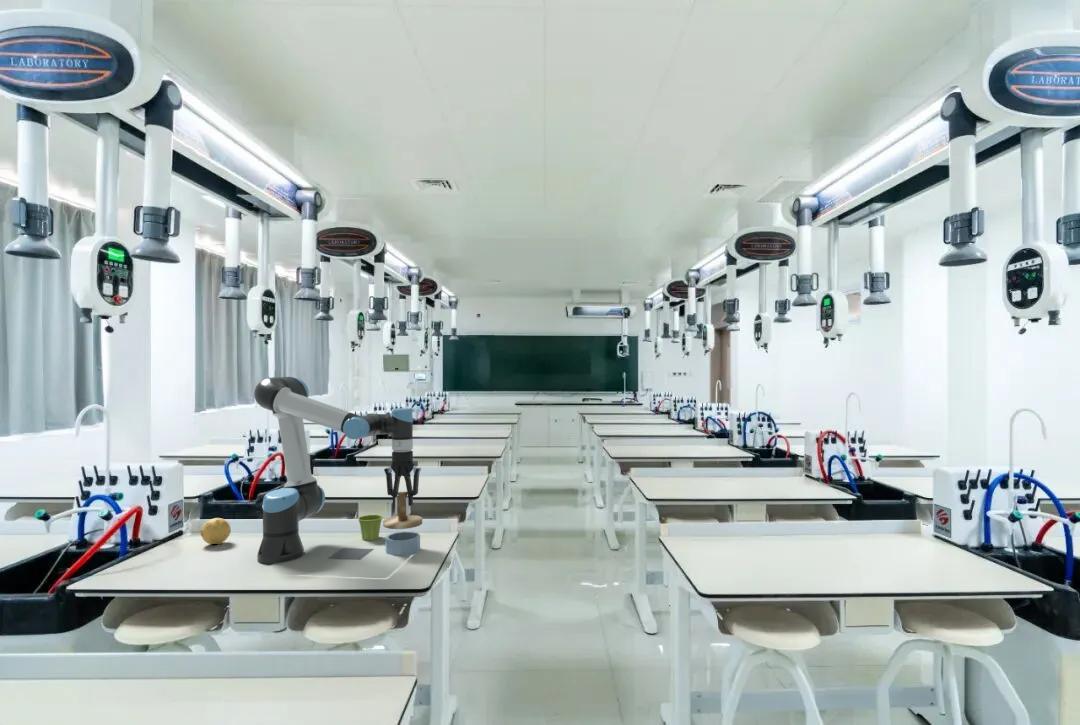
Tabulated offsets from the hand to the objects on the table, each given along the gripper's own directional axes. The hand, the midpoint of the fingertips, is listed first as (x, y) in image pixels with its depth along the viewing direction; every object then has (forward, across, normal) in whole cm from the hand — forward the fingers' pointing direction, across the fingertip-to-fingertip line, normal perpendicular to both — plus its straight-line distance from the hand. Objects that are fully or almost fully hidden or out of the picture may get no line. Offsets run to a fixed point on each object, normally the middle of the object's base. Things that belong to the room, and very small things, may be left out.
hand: (402, 514), depth 212 cm
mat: (+13, -17, -6) cm, 23 cm away
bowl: (+13, 0, 0) cm, 13 cm away
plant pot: (+14, -18, +13) cm, 26 cm away
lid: (+3, 0, 0) cm, 3 cm away
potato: (+13, -75, +1) cm, 76 cm away
